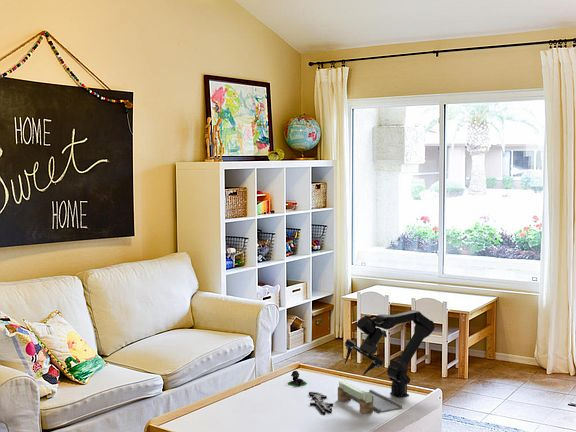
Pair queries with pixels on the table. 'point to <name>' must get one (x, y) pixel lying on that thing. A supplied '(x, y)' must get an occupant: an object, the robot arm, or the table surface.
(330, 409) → the nameplate
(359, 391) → the rail
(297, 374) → the toy figurine
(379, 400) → the track
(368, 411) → the hook post
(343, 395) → the hook post
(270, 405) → the table surface
